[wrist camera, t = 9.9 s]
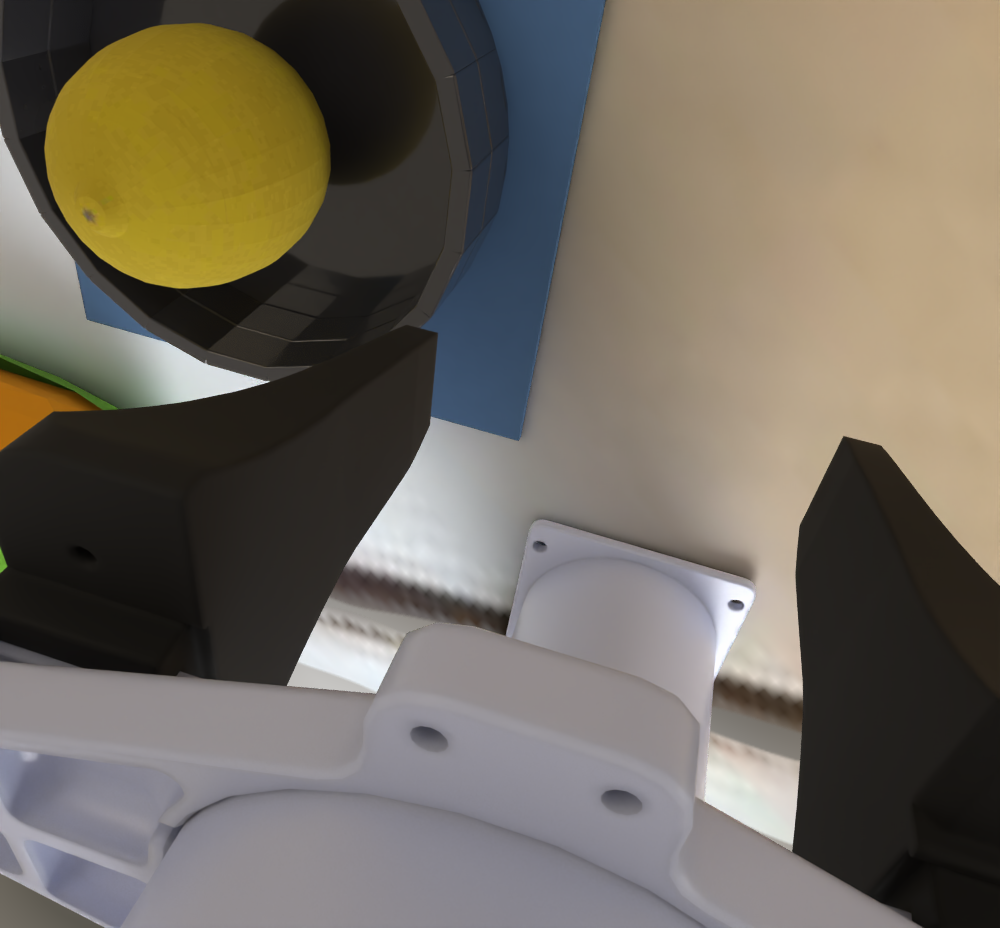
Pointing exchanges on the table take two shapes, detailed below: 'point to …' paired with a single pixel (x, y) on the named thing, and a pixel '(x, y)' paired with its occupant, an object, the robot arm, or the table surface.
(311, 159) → the lemon
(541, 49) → the napkin
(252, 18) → the pan
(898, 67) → the table surface
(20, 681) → the robot arm
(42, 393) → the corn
